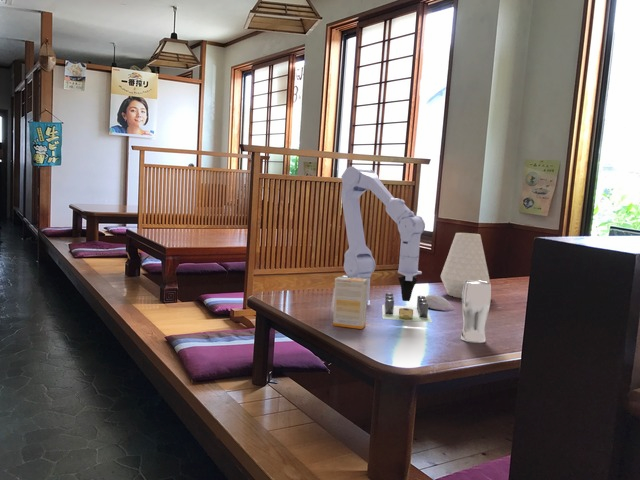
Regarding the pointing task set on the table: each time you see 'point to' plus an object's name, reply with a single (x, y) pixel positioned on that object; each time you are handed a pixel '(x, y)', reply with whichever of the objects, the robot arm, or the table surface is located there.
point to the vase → (464, 263)
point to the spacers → (421, 305)
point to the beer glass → (475, 310)
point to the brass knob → (406, 313)
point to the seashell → (438, 303)
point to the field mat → (396, 317)
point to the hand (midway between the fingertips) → (405, 300)
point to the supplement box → (350, 302)
